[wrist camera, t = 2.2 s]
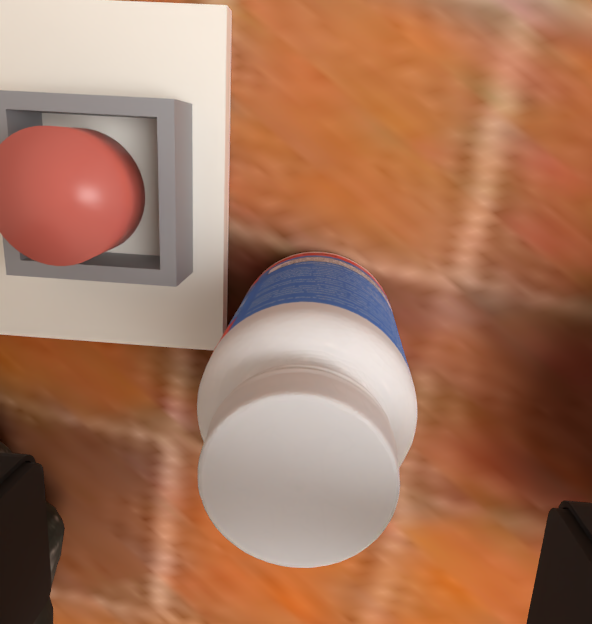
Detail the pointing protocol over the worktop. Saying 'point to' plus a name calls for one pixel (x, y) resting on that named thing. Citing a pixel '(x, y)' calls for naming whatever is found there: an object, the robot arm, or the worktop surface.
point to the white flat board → (146, 153)
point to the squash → (55, 545)
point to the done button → (67, 193)
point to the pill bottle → (306, 414)
